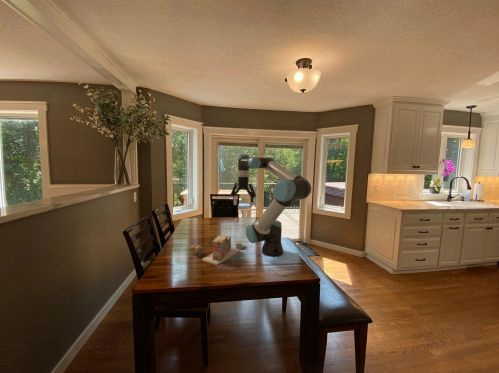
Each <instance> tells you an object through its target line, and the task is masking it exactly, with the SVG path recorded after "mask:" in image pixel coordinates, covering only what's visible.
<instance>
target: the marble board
mask: <svg viewBox="0 0 499 373" xmlns="http://www.w3.org/2000/svg"><path fill="white" fill-rule="evenodd" d="M240 252H241V249H236V247H231V249H230V250H229V251H228V253H227V254H226V256H225V257H224V258H223V260H222V261H220V260H213V253H211V254H209V255H207V256H205V257H202V258H201V261H203V262H205V263H209V264H210V265H211V264H212V265H215V266H218V265H220V264H221V263H223V262H224V261H226V260H228V259H230V258H232V257H233V256H236V255H237V254H239V253H240Z"/></svg>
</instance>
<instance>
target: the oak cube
mask: <svg viewBox="0 0 499 373" xmlns="http://www.w3.org/2000/svg"><path fill="white" fill-rule="evenodd" d="M198 247H201V245H198V244H192V245H191V246H190V247H189V255H192V256H197V255H198Z"/></svg>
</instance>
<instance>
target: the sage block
mask: <svg viewBox="0 0 499 373" xmlns="http://www.w3.org/2000/svg"><path fill="white" fill-rule="evenodd" d="M242 247H243V240H236V243H235V249H239V250H242V249H243V248H242Z"/></svg>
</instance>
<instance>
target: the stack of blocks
mask: <svg viewBox="0 0 499 373" xmlns="http://www.w3.org/2000/svg"><path fill="white" fill-rule="evenodd" d="M231 239H232V236H231V235H223V234H222V235H221V234H219V235H217V237H215V238H214V239H213V240H212V254H213V260H220V261H222V260H223V258H224V257H225V256H226V254H227V253H228V251H229V250H230V249H231V248H232V240H231Z"/></svg>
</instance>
